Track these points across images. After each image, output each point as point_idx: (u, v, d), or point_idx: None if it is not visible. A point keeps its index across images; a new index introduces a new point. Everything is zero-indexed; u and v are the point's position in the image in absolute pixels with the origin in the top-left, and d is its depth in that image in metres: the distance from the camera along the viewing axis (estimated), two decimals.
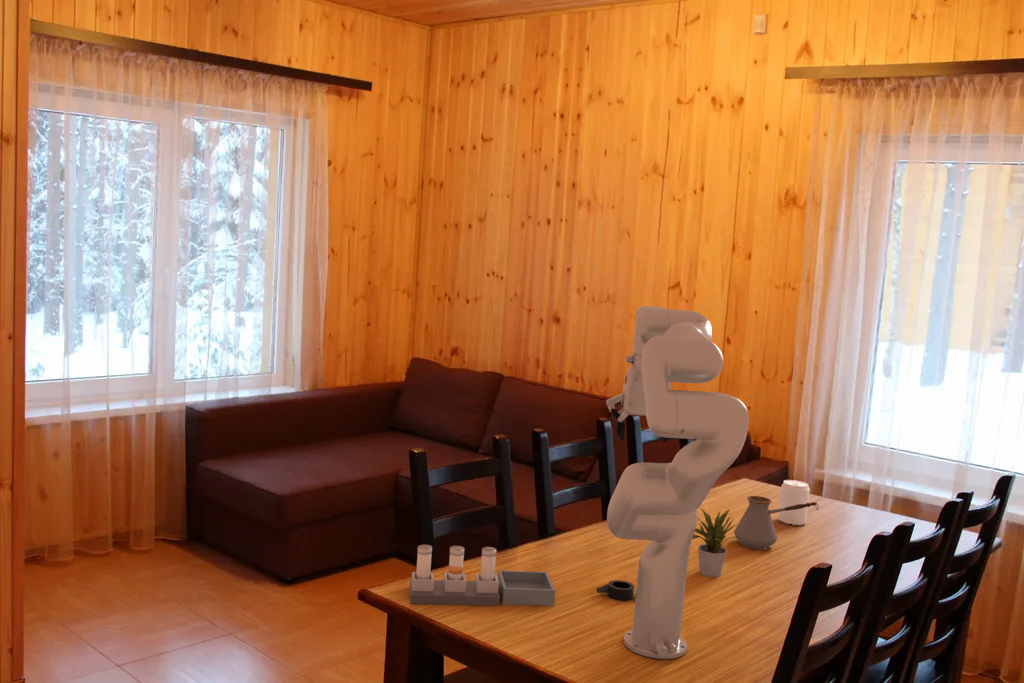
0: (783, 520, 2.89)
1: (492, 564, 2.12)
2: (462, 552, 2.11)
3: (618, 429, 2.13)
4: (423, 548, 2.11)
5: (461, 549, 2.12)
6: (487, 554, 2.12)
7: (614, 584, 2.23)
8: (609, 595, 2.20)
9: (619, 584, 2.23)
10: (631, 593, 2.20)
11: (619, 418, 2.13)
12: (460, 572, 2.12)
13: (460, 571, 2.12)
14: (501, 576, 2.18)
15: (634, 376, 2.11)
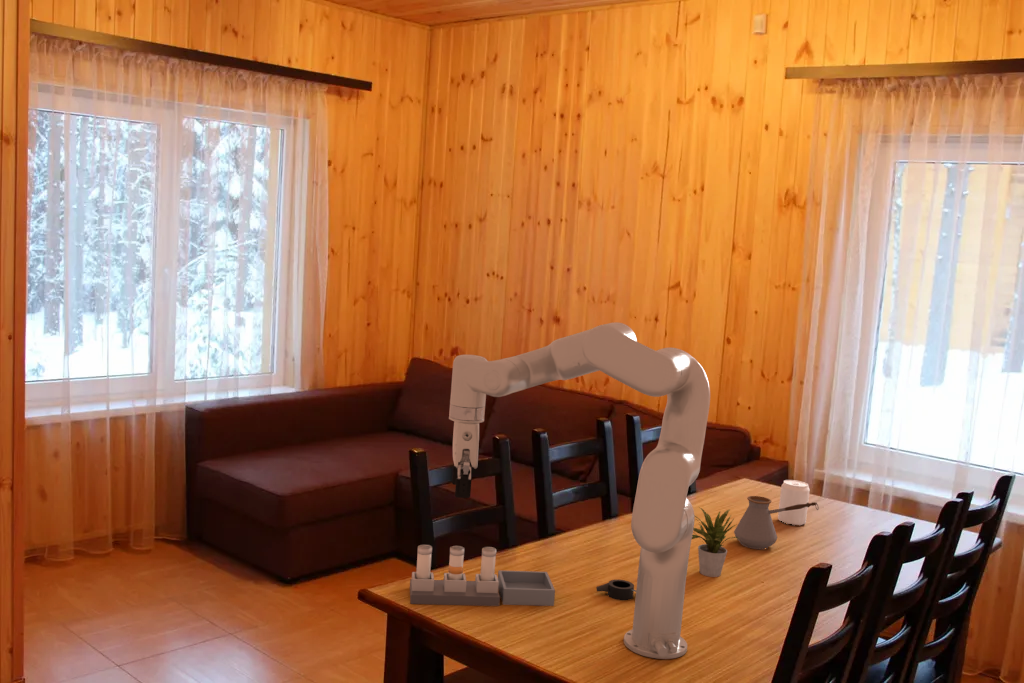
0: (783, 520, 2.89)
1: (492, 564, 2.12)
2: (462, 552, 2.11)
3: (467, 488, 2.05)
4: (423, 548, 2.11)
5: (461, 549, 2.12)
6: (487, 554, 2.12)
7: (615, 583, 2.23)
8: (608, 594, 2.21)
9: (620, 583, 2.24)
10: (630, 593, 2.20)
11: None
12: (460, 572, 2.12)
13: (460, 571, 2.12)
14: (501, 576, 2.18)
15: (478, 430, 2.06)
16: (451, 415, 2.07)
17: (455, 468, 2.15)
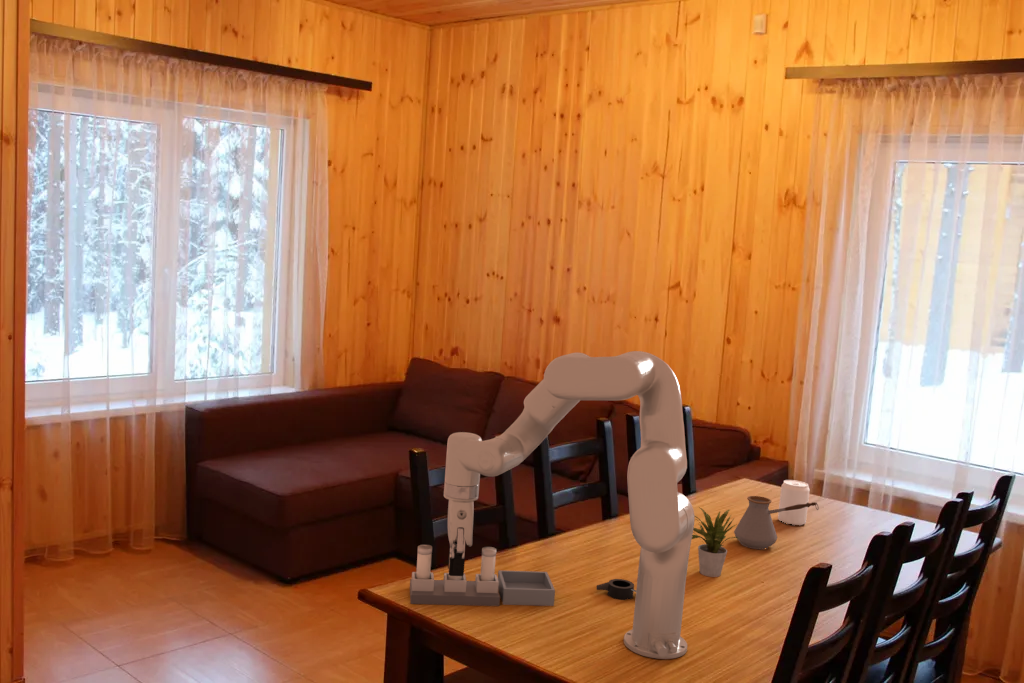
0: (783, 520, 2.89)
1: (492, 564, 2.12)
2: None
3: (460, 567, 2.10)
4: (423, 548, 2.11)
5: None
6: (487, 554, 2.12)
7: (615, 582, 2.24)
8: (608, 593, 2.22)
9: (621, 583, 2.24)
10: (629, 592, 2.20)
11: None
12: None
13: None
14: (501, 576, 2.18)
15: (473, 508, 2.08)
16: (446, 493, 2.09)
17: None
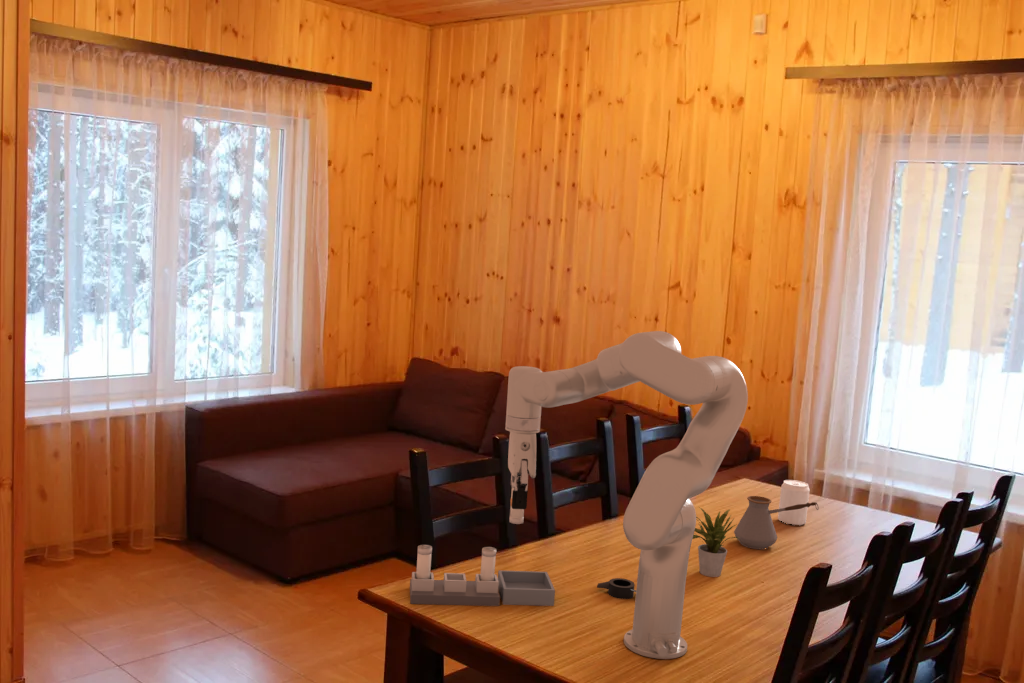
0: (783, 520, 2.89)
1: (492, 564, 2.12)
2: None
3: (523, 499, 2.11)
4: (423, 548, 2.11)
5: None
6: (487, 554, 2.12)
7: (617, 582, 2.24)
8: (608, 591, 2.23)
9: (623, 582, 2.24)
10: (628, 592, 2.20)
11: None
12: None
13: None
14: (501, 576, 2.18)
15: None
16: (508, 426, 2.10)
17: None
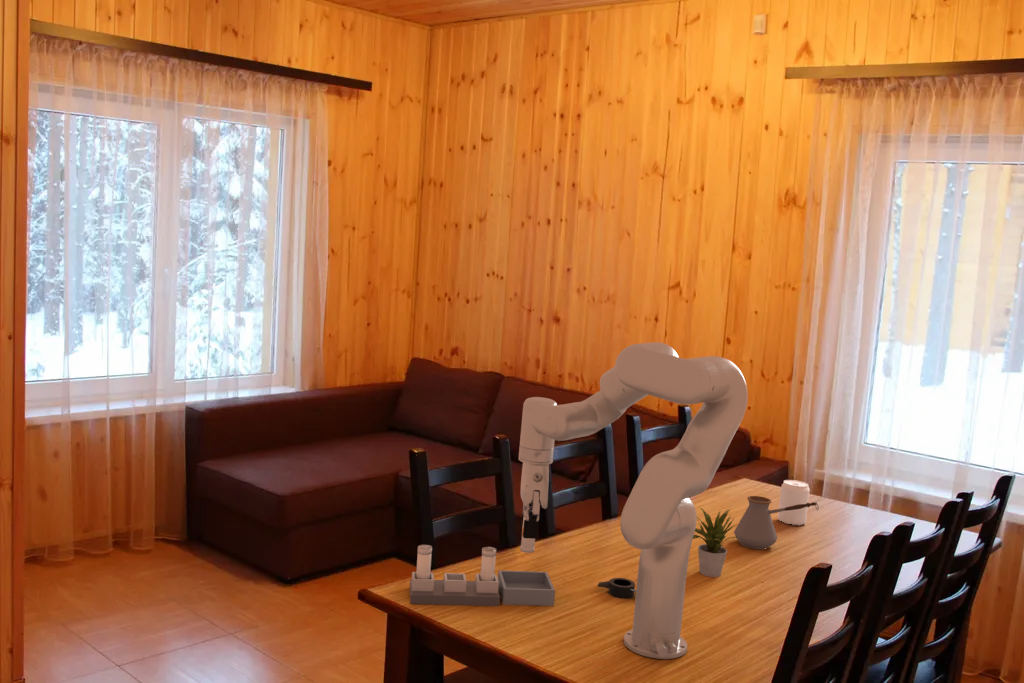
0: (783, 520, 2.89)
1: (492, 564, 2.12)
2: None
3: (534, 529, 2.13)
4: (423, 548, 2.11)
5: None
6: (487, 554, 2.12)
7: (618, 581, 2.25)
8: None
9: (624, 582, 2.25)
10: (628, 591, 2.20)
11: None
12: None
13: None
14: (501, 576, 2.18)
15: (548, 471, 2.11)
16: (521, 456, 2.12)
17: None
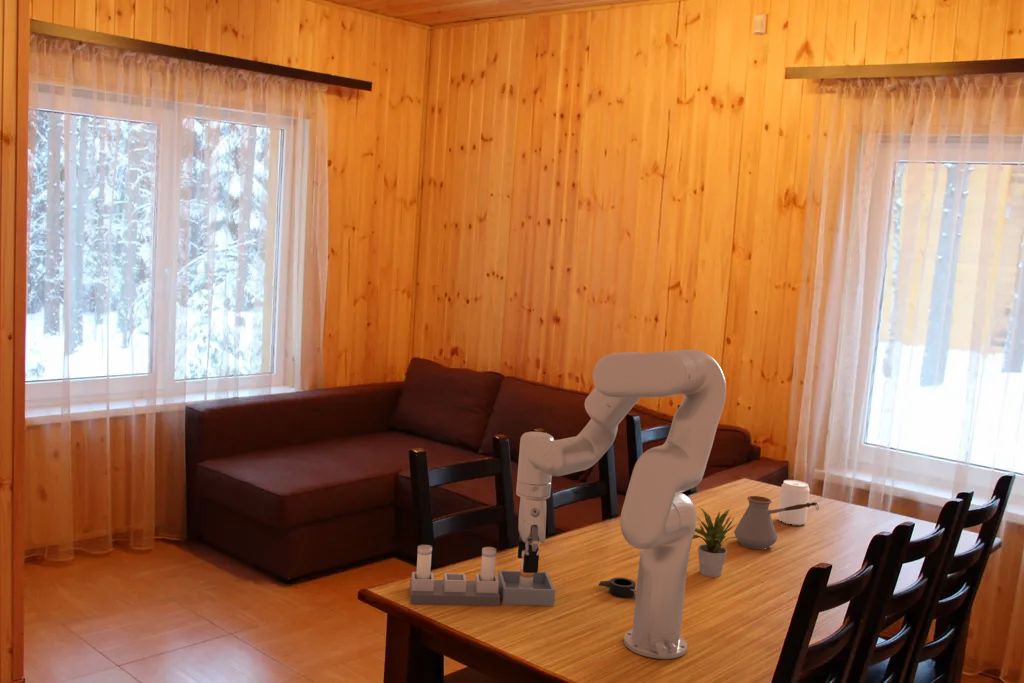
0: (783, 520, 2.89)
1: (492, 564, 2.12)
2: None
3: (534, 563, 2.12)
4: (423, 548, 2.11)
5: None
6: (487, 554, 2.12)
7: (620, 581, 2.25)
8: (609, 589, 2.24)
9: (625, 582, 2.25)
10: (627, 591, 2.20)
11: None
12: (531, 575, 2.16)
13: (531, 575, 2.16)
14: (501, 576, 2.18)
15: None
16: (519, 491, 2.13)
17: (521, 542, 2.20)
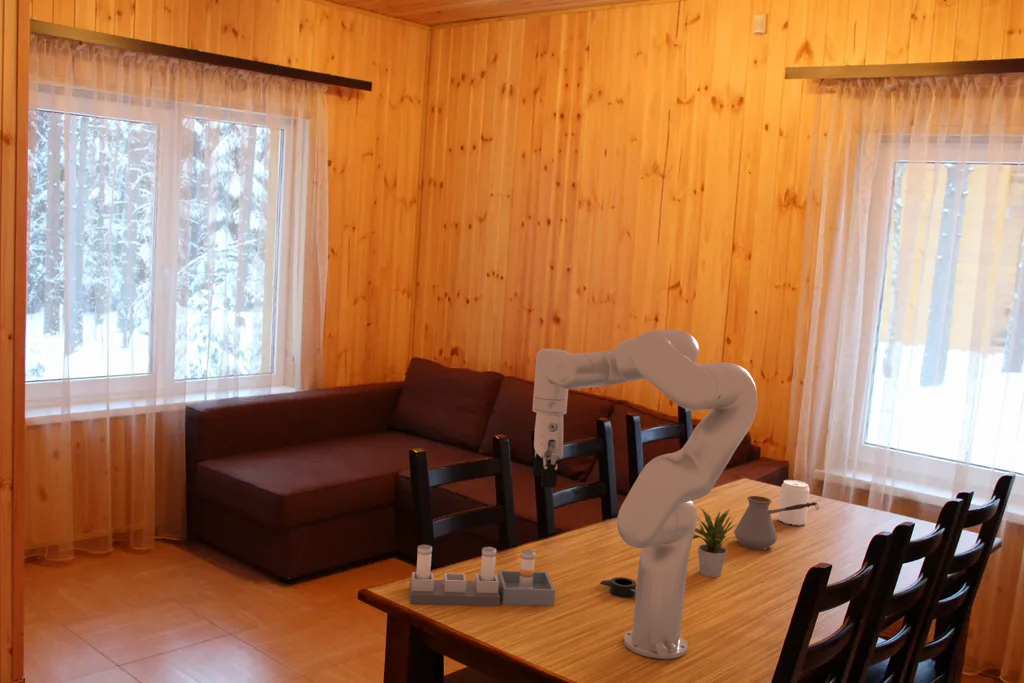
0: (783, 520, 2.89)
1: (492, 564, 2.12)
2: (533, 556, 2.16)
3: None
4: (423, 548, 2.11)
5: (533, 553, 2.16)
6: (487, 554, 2.12)
7: (621, 580, 2.25)
8: None
9: (627, 582, 2.25)
10: (627, 591, 2.21)
11: None
12: (531, 575, 2.16)
13: (531, 575, 2.16)
14: (501, 576, 2.18)
15: None
16: (535, 407, 2.13)
17: (536, 459, 2.21)
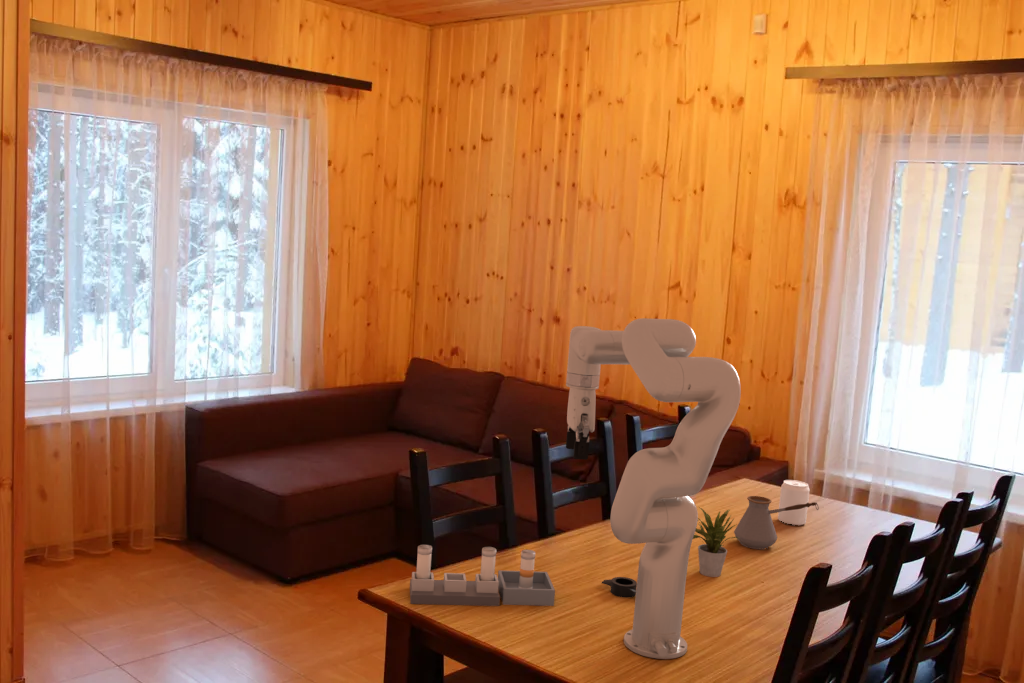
0: (783, 520, 2.89)
1: (492, 564, 2.12)
2: (533, 556, 2.16)
3: None
4: (423, 548, 2.11)
5: (533, 553, 2.16)
6: (487, 554, 2.12)
7: (623, 580, 2.26)
8: None
9: (628, 582, 2.25)
10: (626, 591, 2.21)
11: None
12: (531, 575, 2.16)
13: (531, 575, 2.16)
14: (501, 576, 2.18)
15: (595, 396, 2.20)
16: (569, 382, 2.21)
17: (569, 433, 2.29)
